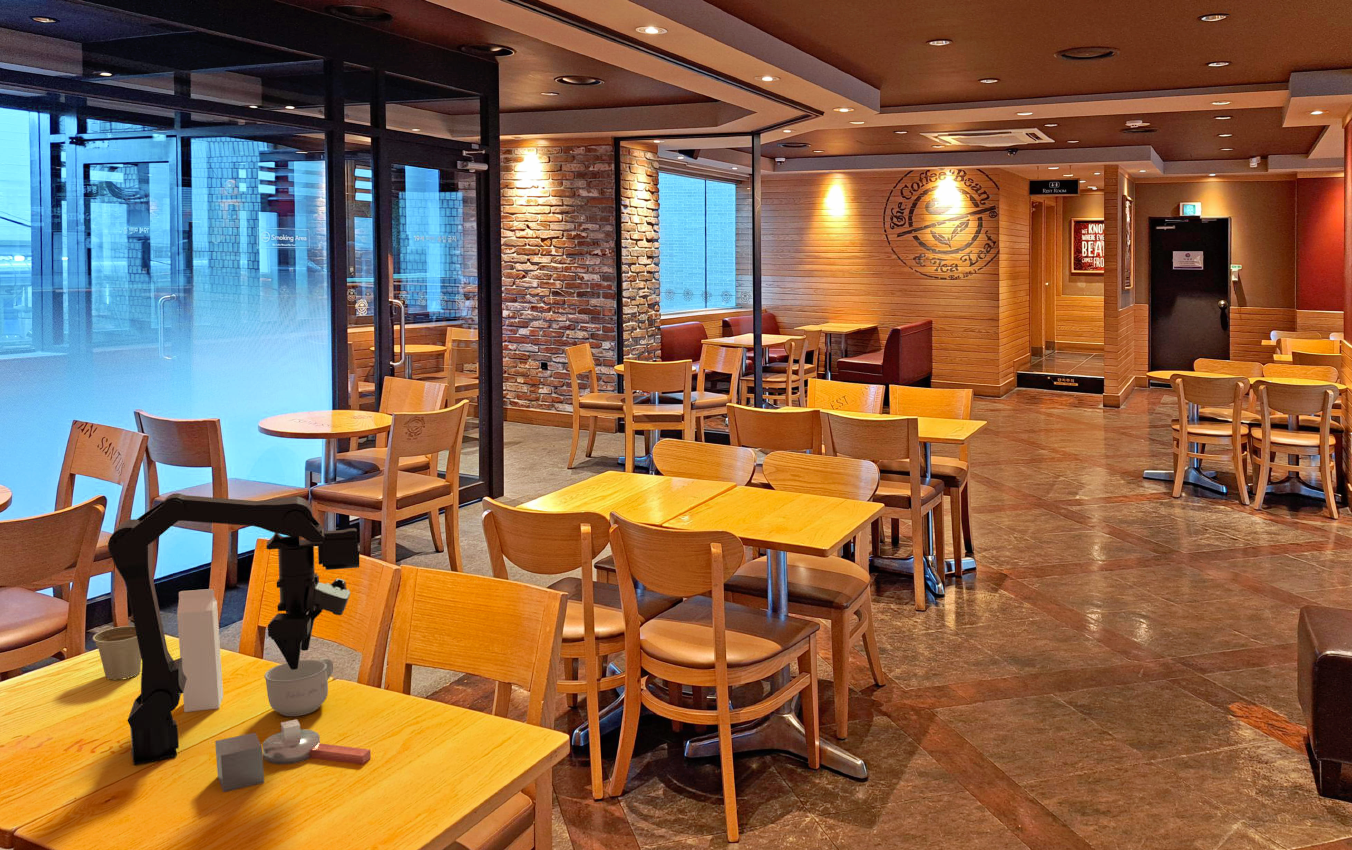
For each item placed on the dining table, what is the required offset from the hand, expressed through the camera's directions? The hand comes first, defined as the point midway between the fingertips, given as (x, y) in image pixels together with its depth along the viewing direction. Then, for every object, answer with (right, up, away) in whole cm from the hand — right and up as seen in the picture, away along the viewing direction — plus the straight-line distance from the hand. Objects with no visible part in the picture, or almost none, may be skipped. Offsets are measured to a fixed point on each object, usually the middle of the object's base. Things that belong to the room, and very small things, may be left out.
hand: (299, 659), depth 185 cm
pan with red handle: (+5, -15, -6) cm, 17 cm away
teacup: (-4, -12, +13) cm, 18 cm away
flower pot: (-45, -10, +29) cm, 55 cm away
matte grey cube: (-4, -16, -15) cm, 22 cm away
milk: (-23, -12, +15) cm, 30 cm away
